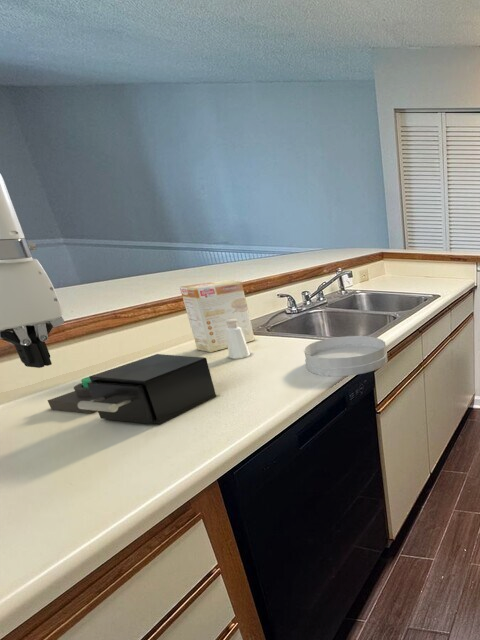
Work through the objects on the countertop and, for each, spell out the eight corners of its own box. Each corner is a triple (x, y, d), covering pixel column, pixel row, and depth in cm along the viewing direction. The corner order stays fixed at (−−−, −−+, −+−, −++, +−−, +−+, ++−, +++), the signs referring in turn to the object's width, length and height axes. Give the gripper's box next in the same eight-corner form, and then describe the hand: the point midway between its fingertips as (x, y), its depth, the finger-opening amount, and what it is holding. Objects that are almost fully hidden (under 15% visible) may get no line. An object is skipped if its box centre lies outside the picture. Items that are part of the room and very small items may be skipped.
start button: (79, 387, 92) (76, 380, 92) (96, 381, 96) (93, 374, 95) (93, 389, 92) (90, 381, 91) (110, 383, 95) (107, 375, 95)
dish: (371, 378, 111) (369, 360, 109) (290, 374, 112) (286, 356, 110) (397, 352, 132) (396, 337, 130) (329, 349, 133) (326, 334, 131)
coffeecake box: (241, 337, 143) (227, 279, 136) (256, 340, 140) (243, 281, 133) (195, 349, 130) (178, 285, 123) (211, 352, 128) (194, 287, 120)
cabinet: (159, 425, 85) (144, 381, 81) (105, 419, 87) (88, 376, 83) (216, 396, 98) (206, 357, 95) (169, 392, 100) (157, 353, 96)
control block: (51, 409, 90) (43, 392, 89) (108, 388, 101) (103, 373, 100) (91, 413, 89) (84, 396, 88) (144, 391, 100) (139, 376, 99)
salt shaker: (236, 352, 128) (228, 317, 124) (254, 353, 128) (246, 317, 124) (224, 358, 123) (215, 321, 119) (243, 359, 123) (234, 322, 119)
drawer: (128, 433, 80) (114, 396, 77) (77, 428, 81) (61, 391, 78) (205, 396, 96) (196, 364, 93) (161, 392, 98) (151, 361, 95)
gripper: (31, 247, 71) (69, 350, 78) (-101, 253, 57) (-41, 379, 64) (69, 249, 70) (104, 354, 77) (-56, 256, 56) (1, 384, 63)
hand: (38, 365), depth 70 cm, fingers closed
